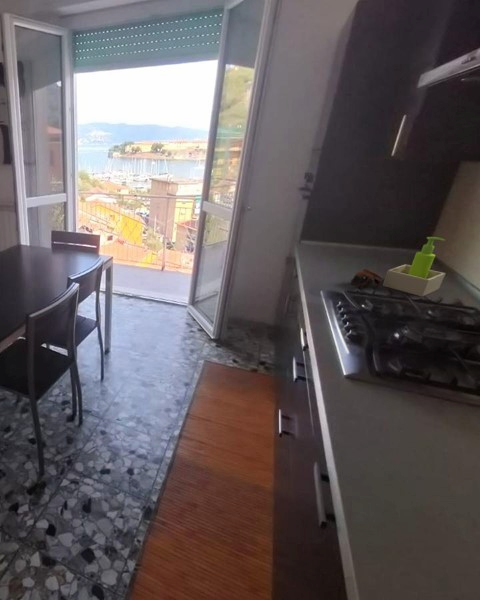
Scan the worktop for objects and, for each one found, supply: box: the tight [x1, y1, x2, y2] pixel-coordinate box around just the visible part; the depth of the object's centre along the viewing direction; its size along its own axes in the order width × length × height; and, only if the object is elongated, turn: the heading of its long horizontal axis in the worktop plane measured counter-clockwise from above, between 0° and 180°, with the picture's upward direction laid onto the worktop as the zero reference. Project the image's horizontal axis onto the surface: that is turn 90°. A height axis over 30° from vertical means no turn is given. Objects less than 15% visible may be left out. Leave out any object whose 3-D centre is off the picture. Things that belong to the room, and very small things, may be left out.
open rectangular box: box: [382, 263, 446, 297], centre depth 149 cm, size 14×16×7 cm
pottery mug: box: [349, 268, 383, 289], centre depth 150 cm, size 12×10×8 cm
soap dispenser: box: [408, 236, 446, 279], centre depth 147 cm, size 6×7×20 cm
